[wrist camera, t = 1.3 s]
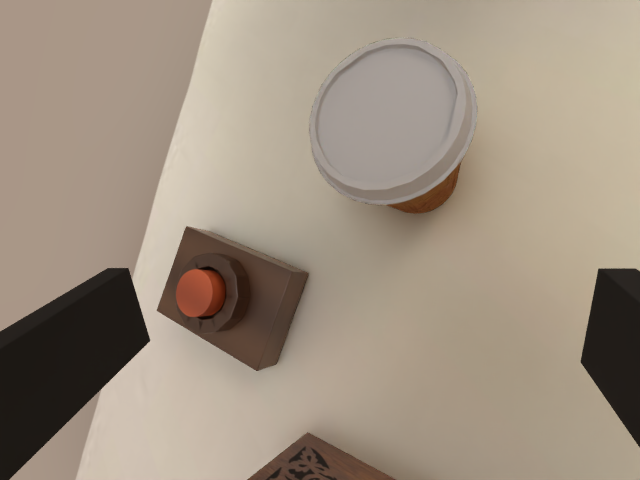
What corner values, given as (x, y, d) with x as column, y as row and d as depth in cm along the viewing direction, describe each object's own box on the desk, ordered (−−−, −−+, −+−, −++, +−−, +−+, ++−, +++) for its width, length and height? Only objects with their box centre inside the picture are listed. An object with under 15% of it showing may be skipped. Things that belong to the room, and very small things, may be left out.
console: (208, 230, 39) (171, 222, 34) (309, 273, 33) (281, 270, 29) (180, 309, 39) (140, 311, 35) (276, 364, 34) (244, 376, 29)
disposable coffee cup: (423, 256, 29) (386, 235, 19) (342, 187, 33) (273, 136, 22) (508, 163, 28) (523, 80, 17) (413, 101, 31) (375, 1, 21)
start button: (199, 263, 33) (185, 262, 31) (232, 279, 31) (218, 279, 30) (184, 305, 33) (169, 306, 31) (216, 323, 31) (202, 325, 30)
